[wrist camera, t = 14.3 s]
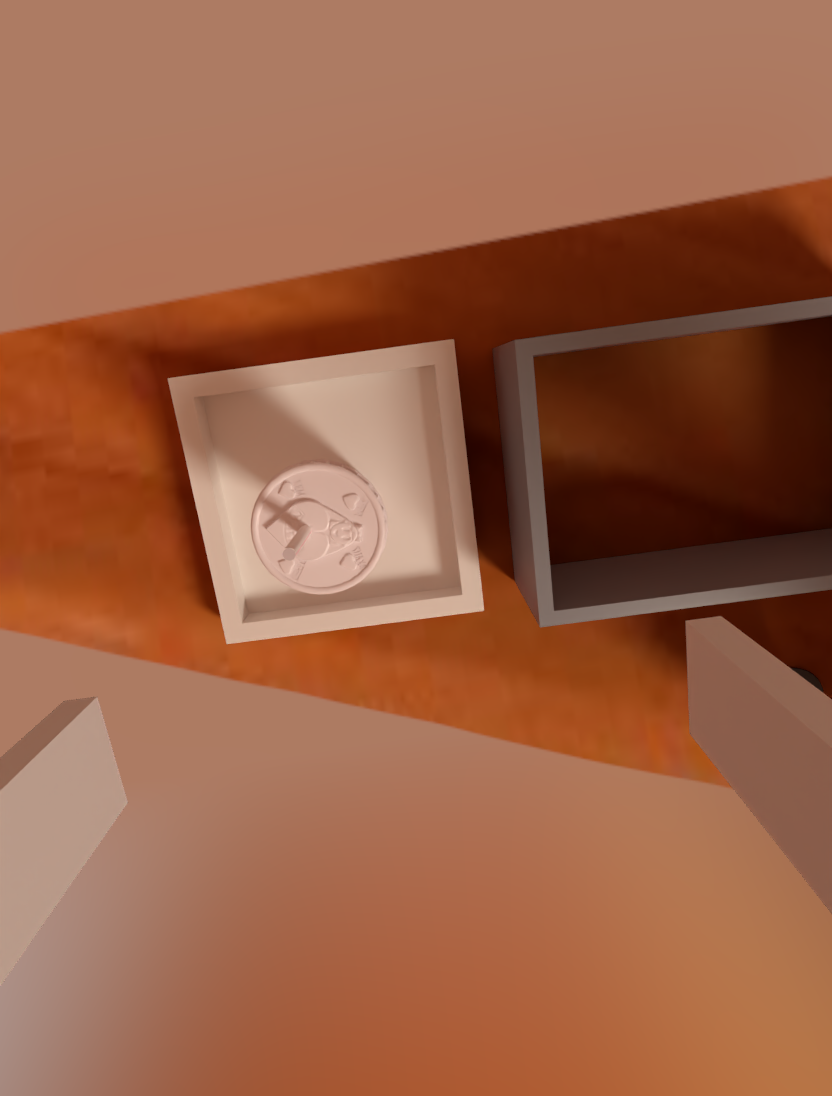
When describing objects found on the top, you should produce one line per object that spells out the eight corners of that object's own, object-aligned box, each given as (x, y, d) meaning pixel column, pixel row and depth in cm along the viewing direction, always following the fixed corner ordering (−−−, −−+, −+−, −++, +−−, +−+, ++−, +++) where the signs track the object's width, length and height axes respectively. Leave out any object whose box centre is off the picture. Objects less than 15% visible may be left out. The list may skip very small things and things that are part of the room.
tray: (450, 342, 38) (454, 338, 35) (479, 596, 42) (484, 610, 39) (183, 378, 38) (167, 378, 35) (238, 627, 42) (226, 644, 39)
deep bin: (857, 298, 37) (976, 276, 30) (848, 538, 41) (950, 574, 33) (492, 348, 38) (514, 339, 30) (514, 581, 41) (539, 627, 34)
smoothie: (287, 439, 38) (220, 469, 24) (395, 445, 38) (387, 479, 25) (287, 543, 40) (223, 626, 26) (390, 548, 40) (380, 634, 26)
